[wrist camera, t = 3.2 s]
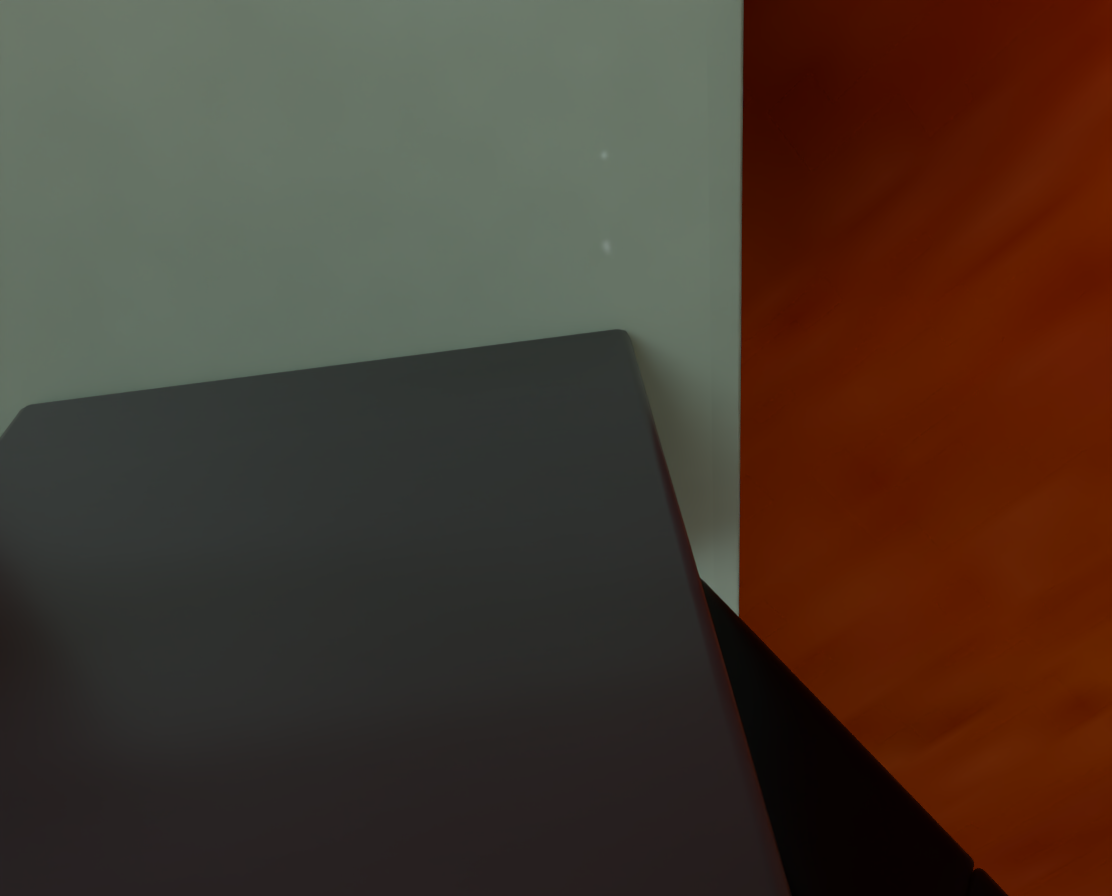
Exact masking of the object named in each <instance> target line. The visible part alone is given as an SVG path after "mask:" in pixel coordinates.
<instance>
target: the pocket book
mask: <svg viewBox="0 0 1112 896" xmlns="http://www.w3.org/2000/svg"><path fill="white" fill-rule="evenodd" d="M743 14H744V0H0V437H1V435H2V434H3V433H4V431H5V430H6V429H7V427H8V426H9V425H10V423H11V422H12V421H13V419H14V418H15V417H16V415H17V414H18V412H19V411H20V410H21V409H22V408H24V407H26V406H28V405H31V404H37V403H45V402H53V401H60V400H68V399H76V398H84V397H91V396H99V395H107V394H115V393H123V392H130V391H138V390H146V389H154V388H162V387H169V386H177V385H185V384H193V383H200V382H208V381H216V380H224V379H232V378H239V377H247V376H255V375H263V374H270V373H278V372H286V371H294V370H302V369H309V368H317V367H325V366H333V365H340V364H348V363H356V362H364V361H372V360H379V359H387V358H395V357H403V356H410V355H418V354H426V353H434V352H442V351H449V350H457V349H465V348H473V347H480V346H488V345H496V344H504V343H512V342H519V341H527V340H535V339H543V338H550V337H558V336H566V335H574V334H582V333H589V332H597V331H605V330H613V329H621V330H625V331H626V332H627V333H628V335H629V337H630V338H631V341H632V345H633V348H634V352H635V355H636V359H637V362H638V366H639V369H640V373H641V376H642V379H643V383H644V386H645V390H646V393H647V397H648V400H649V404H650V407H651V411H652V414H653V417H654V421H655V424H656V428H657V431H658V435H659V438H660V442H661V445H662V449H663V452H664V455H665V459H666V462H667V466H668V469H669V473H670V476H671V480H672V483H673V487H674V490H675V493H676V497H677V500H678V504H679V507H680V511H681V514H682V518H683V521H684V524H685V528H686V531H687V535H688V538H689V542H690V545H691V549H692V552H693V556H694V559H695V562H696V566H697V569H698V573H699V576H700V578H701V579H702V580H704V581H705V582H706V583H707V584H708V586H709V587H710V588H711V589H712V590H713V591H714V592H715V593H716V594H717V595H718V596H719V597H720V598H721V599H722V600H723V601H724V602H725V603H726V604H727V605H728V606H729V607H730V608H731V609H732V610H733V611H734V612H735V613H736V615H737V616H738V617H739V535H740V404H741V274H742V144H743Z"/></svg>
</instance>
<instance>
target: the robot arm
mask: <svg viewBox="0 0 1112 896" xmlns="http://www.w3.org/2000/svg"><path fill="white" fill-rule="evenodd" d="M700 580H701V583H702V587H703V590H704V594H705V597H706V600H707V604H708V607H709V611H710V614H711V618H712V621H713V625H714V628H715V632H716V635H717V638H718V642H719V645H720V649H721V652H722V656H723V659H724V663H725V666H726V670H727V673H728V676H729V680H730V683H731V687H732V690H733V694H734V697H735V701H736V704H737V708H738V711H739V714H740V718H741V721H742V725H743V728H744V732H745V735H746V739H747V742H748V746H749V749H750V752H751V756H752V759H753V763H754V766H755V770H756V773H757V777H758V780H759V784H760V787H761V790H762V794H763V797H764V801H765V804H766V808H767V811H768V815H769V818H770V822H771V825H772V828H773V832H774V835H775V839H776V842H777V846H778V849H779V853H780V856H781V860H782V863H783V866H784V870H785V873H786V877H787V880H788V884H789V887H790V891H791V894H792V896H1008V895H1007V894H1006V893H1005V892H1004V891H1003V890H1002V889H1001V888H1000V886H999V885H998V884H997V883H996V882H995V881H994V880H993V879H992V878H991V877H990V876H989V875H988V874H987V873H986V872H985V871H984V870H983V869H980V868H977V869H975V870H974V871H973V867H974V862H973V860H972V858H971V857H970V856H969V855H968V854H967V853H966V852H965V851H964V850H963V849H962V848H961V847H960V846H959V845H958V843H957V842H956V841H955V840H954V839H953V838H952V837H951V836H950V835H949V834H948V833H947V832H946V831H945V830H944V829H943V828H942V827H941V826H940V825H939V824H938V823H937V822H936V821H935V820H934V819H933V818H932V817H931V816H930V814H929V813H928V812H927V811H926V810H925V809H924V808H923V807H922V806H921V805H920V804H919V803H918V802H917V801H916V800H915V799H914V798H913V797H912V796H911V795H910V794H909V793H908V792H907V791H906V790H905V789H904V788H903V787H902V785H901V784H900V783H899V782H898V781H897V780H896V779H895V778H894V777H893V776H892V775H891V774H890V773H889V772H888V771H887V770H886V769H885V768H884V767H883V766H882V765H881V764H880V763H879V762H878V761H877V760H876V759H875V757H874V756H873V755H872V754H871V753H870V752H869V751H868V750H867V749H866V748H865V747H864V746H863V745H862V744H861V743H860V742H859V741H858V740H857V739H856V738H855V737H854V736H853V735H852V734H851V733H850V732H849V731H848V730H847V728H846V727H845V726H844V725H843V724H842V723H841V722H840V721H839V720H838V719H837V718H836V717H835V716H834V715H833V714H832V713H831V712H830V711H829V710H828V709H827V708H826V707H825V706H824V705H823V704H822V703H821V702H820V701H819V699H818V698H817V697H816V696H815V695H814V694H813V693H812V692H811V691H810V690H809V689H808V688H807V687H806V686H805V685H804V684H803V683H802V682H801V681H800V680H799V679H798V678H797V677H796V676H795V675H794V674H793V673H792V672H791V670H790V669H789V668H788V667H787V666H786V665H785V664H784V663H783V662H782V661H781V660H780V659H779V658H778V657H777V656H776V655H775V654H774V653H773V652H772V651H771V650H770V649H769V648H768V647H767V646H766V645H765V644H764V642H763V641H762V640H761V639H760V638H759V637H758V636H757V635H756V634H755V633H754V632H753V631H752V630H751V629H750V628H749V627H748V626H747V625H746V624H745V623H744V622H743V621H742V620H741V619H740V618H739V617H738V616H737V615H736V613H735V612H734V611H733V610H732V609H731V608H730V607H729V606H728V605H727V604H726V603H725V602H724V601H723V600H722V599H721V598H720V597H719V596H718V595H717V594H716V593H715V592H714V591H713V590H712V589H711V588H710V587H709V586H708V584H707V583H706V582H705V581H704V580H702V579H701V578H700Z"/></svg>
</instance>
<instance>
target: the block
mask: <svg viewBox="0 0 1112 896" xmlns="http://www.w3.org/2000/svg"><path fill="white" fill-rule="evenodd" d="M0 896H792V894H791V891H790V887H789V884H788V880H787V877H786V873H785V870H784V866H783V863H782V860H781V856H780V853H779V849H778V846H777V842H776V839H775V835H774V832H773V828H772V825H771V822H770V818H769V815H768V811H767V808H766V804H765V801H764V797H763V794H762V790H761V787H760V784H759V780H758V777H757V773H756V770H755V766H754V763H753V759H752V756H751V752H750V749H749V746H748V742H747V739H746V735H745V732H744V728H743V725H742V721H741V718H740V714H739V711H738V708H737V704H736V701H735V697H734V694H733V690H732V687H731V683H730V680H729V676H728V673H727V670H726V666H725V663H724V659H723V656H722V652H721V649H720V645H719V642H718V638H717V635H716V632H715V628H714V625H713V621H712V618H711V614H710V611H709V607H708V604H707V600H706V597H705V594H704V590H703V587H702V583H701V580H700V576H699V573H698V569H697V566H696V562H695V559H694V556H693V552H692V549H691V545H690V542H689V538H688V535H687V531H686V528H685V524H684V521H683V518H682V514H681V511H680V507H679V504H678V500H677V497H676V493H675V490H674V487H673V483H672V480H671V476H670V473H669V469H668V466H667V462H666V459H665V455H664V452H663V449H662V445H661V442H660V438H659V435H658V431H657V428H656V424H655V421H654V417H653V414H652V411H651V407H650V404H649V400H648V397H647V393H646V390H645V386H644V383H643V379H642V376H641V373H640V369H639V366H638V362H637V359H636V355H635V352H634V348H633V345H632V341H631V338H630V337H629V335H628V333H627V332H626V331H625V330H621V329H613V330H605V331H597V332H589V333H582V334H574V335H566V336H558V337H550V338H543V339H535V340H527V341H519V342H512V343H504V344H496V345H488V346H480V347H473V348H465V349H457V350H449V351H442V352H434V353H426V354H418V355H410V356H403V357H395V358H387V359H379V360H372V361H364V362H356V363H348V364H340V365H333V366H325V367H317V368H309V369H302V370H294V371H286V372H278V373H270V374H263V375H255V376H247V377H239V378H232V379H224V380H216V381H208V382H200V383H193V384H185V385H177V386H169V387H162V388H154V389H146V390H138V391H130V392H123V393H115V394H107V395H99V396H91V397H84V398H76V399H68V400H60V401H53V402H45V403H37V404H31V405H28V406H26V407H24V408H22V409H21V410H20V411H19V412H18V414H17V415H16V417H15V418H14V419H13V421H12V422H11V423H10V425H9V426H8V427H7V429H6V430H5V431H4V433H3V434H2V435H1V437H0Z"/></svg>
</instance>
